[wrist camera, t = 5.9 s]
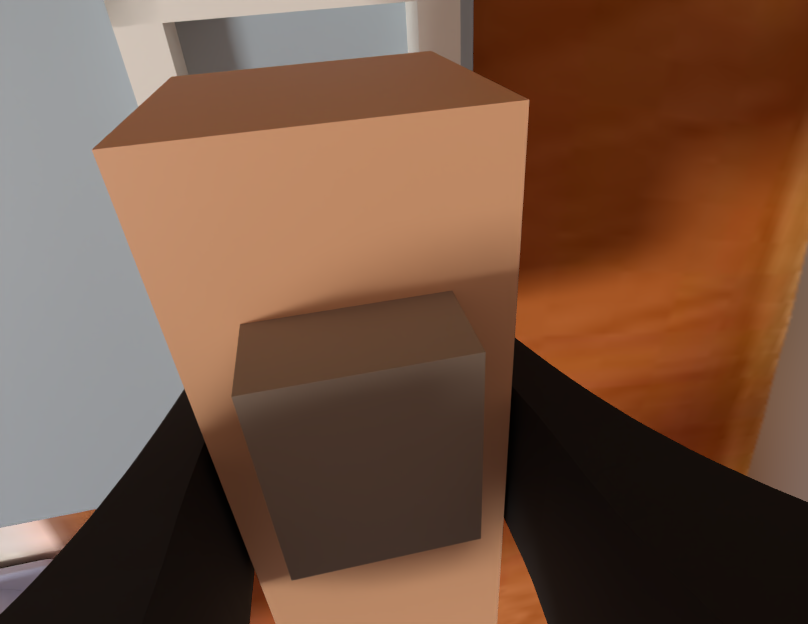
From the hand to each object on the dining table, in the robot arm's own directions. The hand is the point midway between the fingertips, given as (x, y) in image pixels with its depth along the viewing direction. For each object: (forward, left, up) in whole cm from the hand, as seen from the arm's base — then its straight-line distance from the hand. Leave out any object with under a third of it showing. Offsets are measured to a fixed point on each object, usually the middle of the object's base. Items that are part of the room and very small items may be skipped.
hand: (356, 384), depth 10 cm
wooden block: (0, 0, -2) cm, 2 cm away
